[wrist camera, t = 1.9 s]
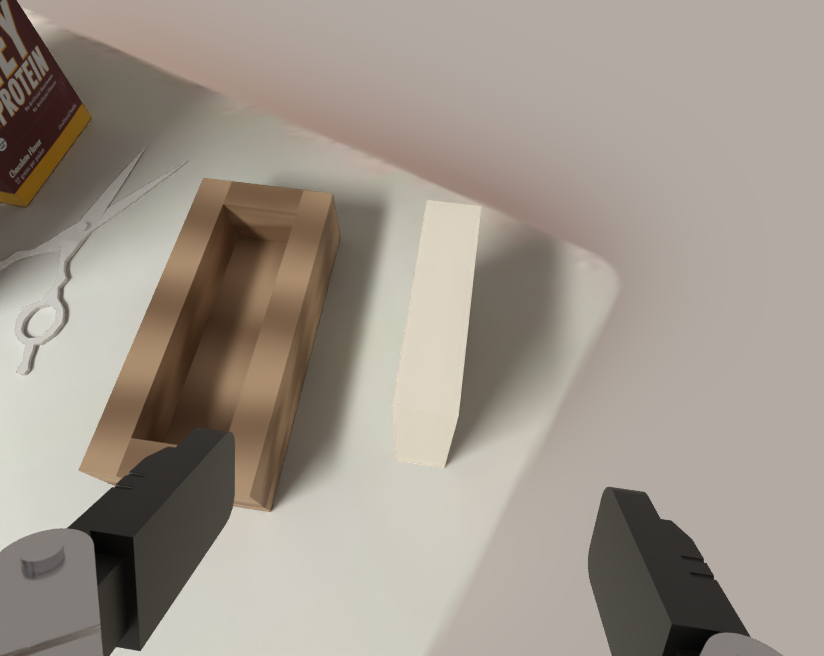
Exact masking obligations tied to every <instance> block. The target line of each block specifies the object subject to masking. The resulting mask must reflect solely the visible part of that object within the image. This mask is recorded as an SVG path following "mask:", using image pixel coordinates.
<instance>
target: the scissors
mask: <svg viewBox="0 0 824 656" xmlns="http://www.w3.org/2000/svg"><path fill="white" fill-rule="evenodd" d="M147 145H148V144H147ZM147 145H146V146H147ZM145 148H146V147H145ZM145 148H144V149H143V150H142V151H141V152H140V153H139V154H138V155H137V156H136V157H135V158H134V160H133V161H132V162H131V163H130V164H129V165H128V166H127V167H126V168H125V169H124V170H123V172H122V173H121V174H120V175H119V176H118V177H117V178H116V179H115V180H114V181H113V183H112V184H111V185H110V186H109V187H108V188H107V189H106V190H105V191H104V193H103V194H102V195H101V196H100V197H99V198H98V200H97V201H96V202H95V203H94V204H93V206H92V207H91V208H90V209H89V210H88V211H87V213H86V214H85V215H84V216H83V217H82V219H81V220H80V221H79V222H78V223H76V224H74V225H72V226H70V227H68V228H67V229H65V230H64V231H62V232H61V233H59V234H58V235H56V236H55V237H53V238H52V239H50V240H48V241H47V242H45V243H43V244H41V245H40V246H38V247H37V248H34V249H31V250H28V251H17V252H15V253H14V254H13V255H11V256H10V257H9V258H7V259H6V260H4V261H0V271H1V270H4V269H5V268H6V267H7V266H9V265H10V264H11V263H13V262H15V261H18V260H21V259H24V258H27V257H31V256H34V255H38V254H44V253H51V252H54V251H58V250H61V251H60V259H59V269H58V276H57V279H56V281H55V284H54V286H53V287H52V289H51V290H50V291H49V292H48V293H47V294H46V295H45V296H44V297H43V298H42V299H41V300H39V301H37V302H35V303H33V304H30V305H28V306H25V307H23V309H22V310H21V312H20V314H19V315H18V317H17V320H16V325H15V336H16V337H17V339H18V340H19V341H20V342H22V343H23V344H25V345H26V346H25V350H24V355H23V359H22V362H21V363H20V364H19V366H18V369H17V371H16V373H18V374H20V375H22V376H26V375H27V374H28V373H29V372H30V370H31V368H30V365H31V361H32V358H33V356H34V353H35V350H36V346H39V345H44V344H45V343H47V342H48V341H49V340H51V339H52V338H54V337H55V336H56V335H57V334H58V332H59V331H60V330H61V328H62V327H63V326H64V324H65V316H66V312H65V309H64V306H63V305H62V303H61V302H60V289H61V288H62V287H63V286H64V285H65V284H66V283H67V281H68V278H67V275H66V269H67V263H68V262H69V261H70V259H71V258H72V257H73V256H74V254H75V253H76V252H77V250H78V249H79V248H80V247H81V245H82V244H83V243H84V241H85V240H86V239H87V237H88V236H89V235H90V233H91V232H92V231H94V230H95V229H97V228H98V227H100V226H101V225H103V224H104V223H106V222H107V221H108V220H110V219H111V218H113V217H114V216H116V215H117V214H119V213H120V212H121V211H123V210H124V209H126V208H127V207H128V206H130V205H131V204H133V203H134V202H135V201H137V200H138V199H139V198H141V197H142V196H143V195H145V194H146V193H147V192H149V191H150V190H151V189H153V188H154V187H155V186H157V185H158V184H159V183H161V182H162V181H163V180H165V179H166V178H168V177H169V176H170V175H172V174H173V173H174V172H175V171H177V170H178V169H179V168H180V167H181V166H182V165H184V164H185V163H186V162H187V161H186V162H185V163H183V164H181V165H180V166H178V167H176V168H174V169H173V170H171V171H169V172H168V173H166V174H164V175H162V176H161V177H159V178H157V179H156V180H154V181H152V182H150V183H149V184H147V185H145V186H144V187H142V188H140V189H139V190H137V191H136V192H134V193H132V194H131V195H129V196H127V197H125V198H123V199H122V200H120V201H118V202H116V203H115V204H113V205H111V206H110V207H109V208H108V209H107V207H108V206H109V204H110V203H111V201H112V200H113V198H114V197H115V195H116V194H117V192H118V191H119V189H120V188H121V186H122V184H123V183H124V181H125V180H126V178H127V177H128V175H129V173H130V172H131V170H132V169H133V167H134V165H135V164H136V162H137V161H138V159H139V157H140V156H141V154H142V153H143V151H144V150H145ZM49 306H51V307H52V308H54V309H55V310H56V318H55V322H54V324H53V325H52V326H51V327H50V329H49V330H48V331H47V332H45V333H44V334H43V335H42V336H39V337H36V338H28V337H26V336H25V334H24V327H25V324H26V322H27V321H28V319H29V318H30V317H31V316H32V315H33V314H34V313H35V312H36V311H38V310H39V309H42V308H45V307H49Z"/></svg>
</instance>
